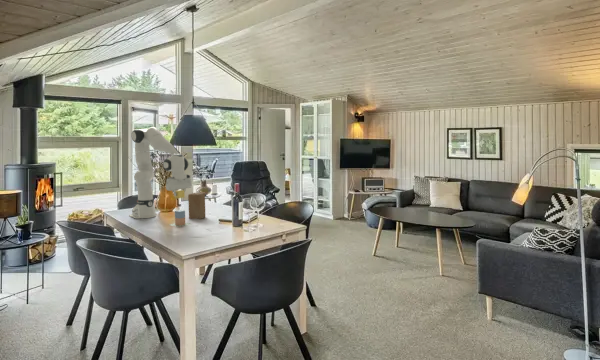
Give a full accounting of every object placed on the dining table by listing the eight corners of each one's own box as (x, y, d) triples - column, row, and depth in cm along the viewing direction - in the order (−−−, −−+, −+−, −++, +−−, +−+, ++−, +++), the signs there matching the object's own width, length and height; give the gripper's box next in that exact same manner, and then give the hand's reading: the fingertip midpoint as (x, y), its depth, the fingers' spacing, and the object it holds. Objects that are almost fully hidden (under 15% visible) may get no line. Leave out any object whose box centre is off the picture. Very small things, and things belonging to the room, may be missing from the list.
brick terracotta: (175, 224, 271) (175, 217, 271) (180, 223, 275) (180, 216, 275) (179, 225, 269) (179, 218, 268) (185, 224, 273) (185, 217, 272)
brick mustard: (174, 197, 269) (174, 190, 269) (180, 196, 273) (179, 190, 273) (178, 198, 266) (178, 191, 266) (184, 197, 271) (184, 190, 270)
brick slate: (179, 218, 268) (179, 211, 268) (175, 217, 271) (174, 211, 270) (185, 217, 272) (184, 210, 272) (180, 216, 275) (180, 210, 274)
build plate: (168, 226, 270) (168, 224, 270) (181, 222, 280) (181, 221, 280) (179, 228, 264) (179, 227, 264) (192, 224, 274) (192, 223, 274)
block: (200, 219, 291) (199, 194, 289) (188, 219, 293) (187, 194, 291) (206, 217, 301) (205, 192, 299) (194, 216, 303) (193, 192, 301)
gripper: (169, 177, 258) (170, 197, 259) (192, 175, 275) (193, 194, 276) (163, 177, 261) (164, 196, 263) (186, 175, 278) (187, 193, 280)
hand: (179, 195), depth 270 cm, fingers closed on brick mustard, 5 cm apart
